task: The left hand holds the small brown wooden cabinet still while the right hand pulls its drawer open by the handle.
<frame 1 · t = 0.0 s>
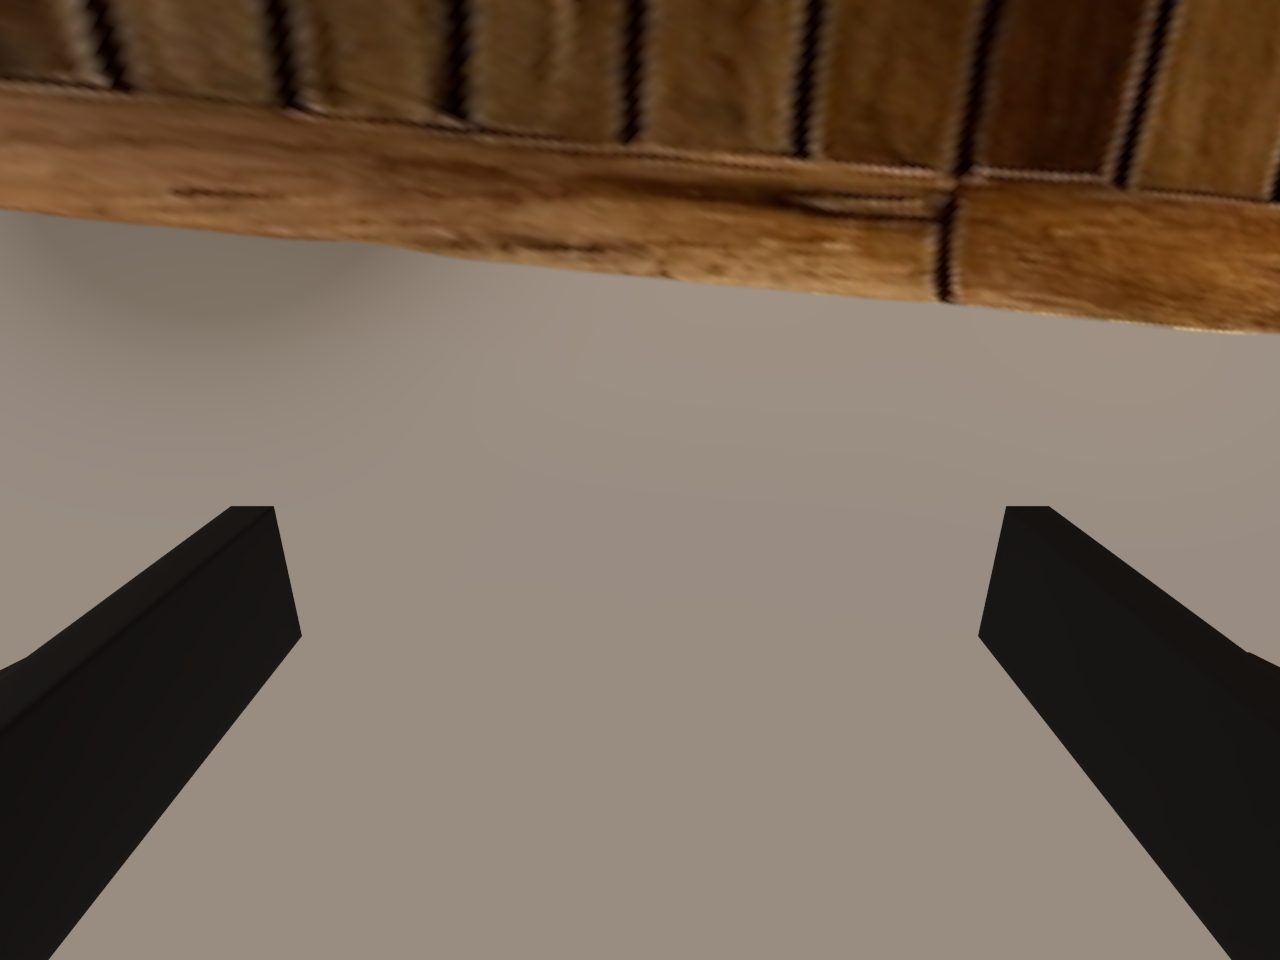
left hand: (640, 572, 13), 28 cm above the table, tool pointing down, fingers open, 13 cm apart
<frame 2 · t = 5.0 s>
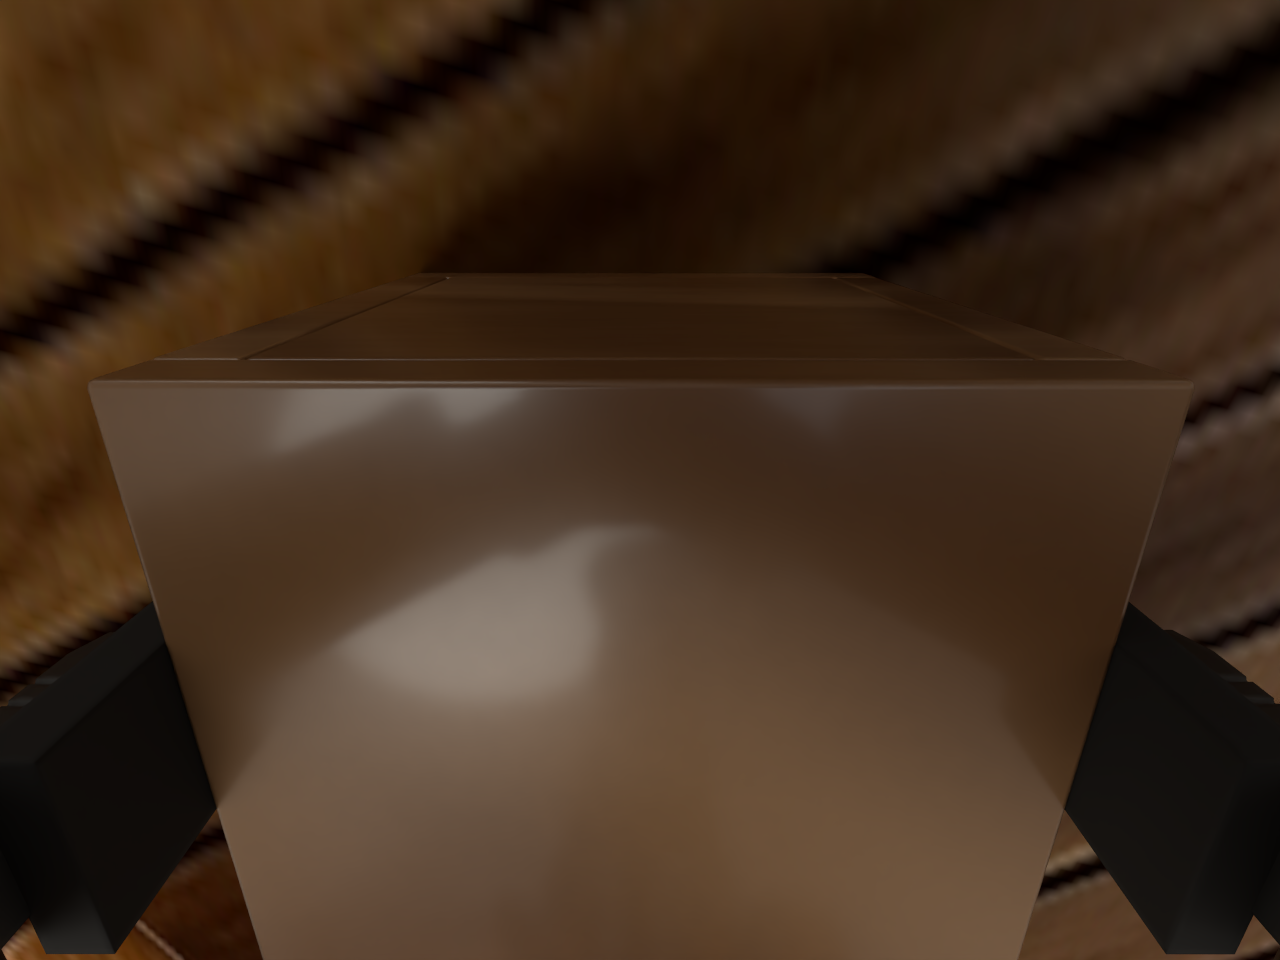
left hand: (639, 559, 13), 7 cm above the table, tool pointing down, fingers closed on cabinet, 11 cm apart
cabinet: (640, 627, 22), on the table, touching left hand
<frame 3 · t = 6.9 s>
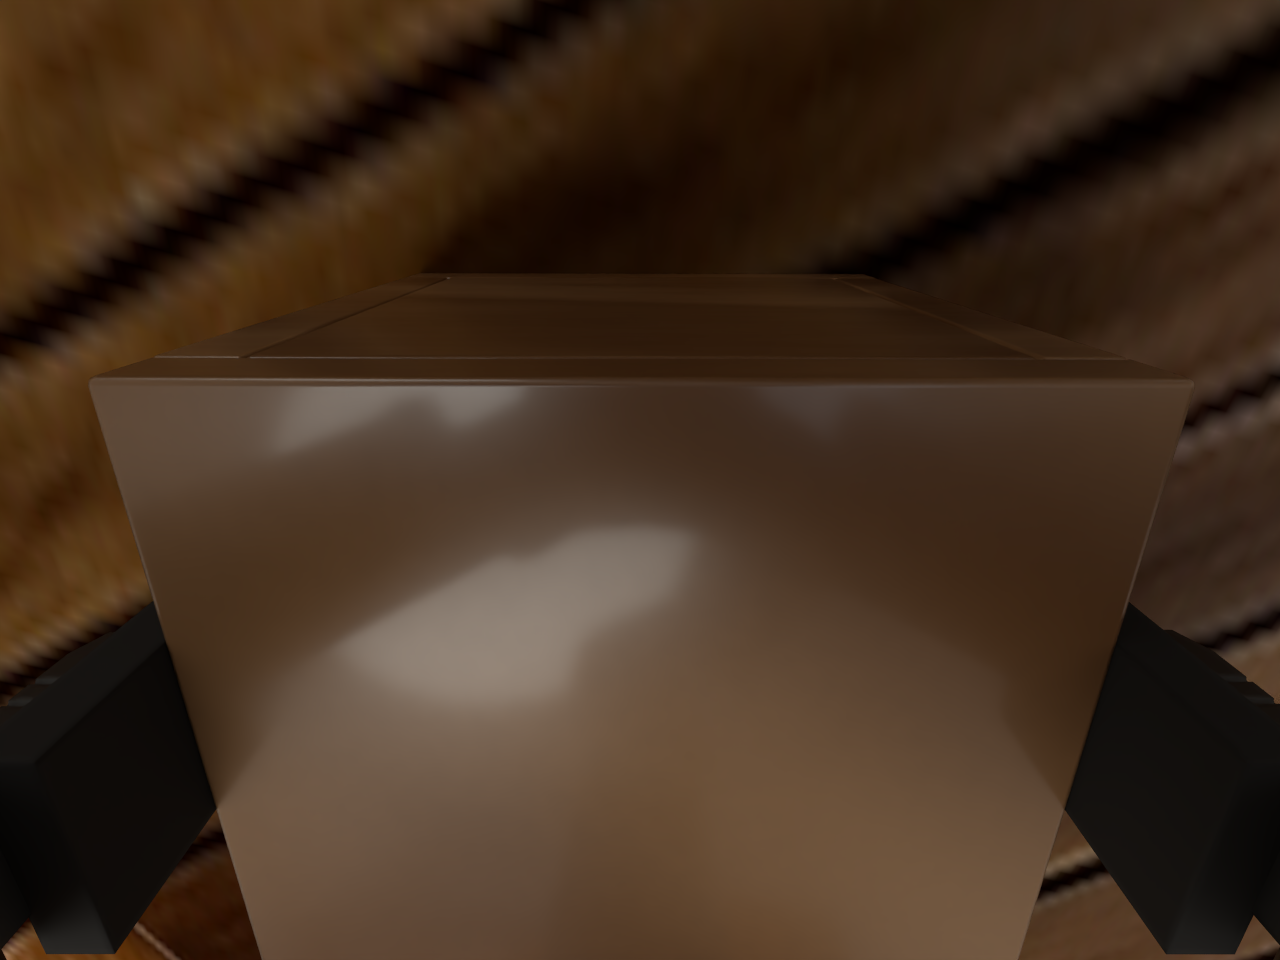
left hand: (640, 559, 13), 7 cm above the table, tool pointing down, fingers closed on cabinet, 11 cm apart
cabinet: (640, 628, 22), on the table, touching left hand
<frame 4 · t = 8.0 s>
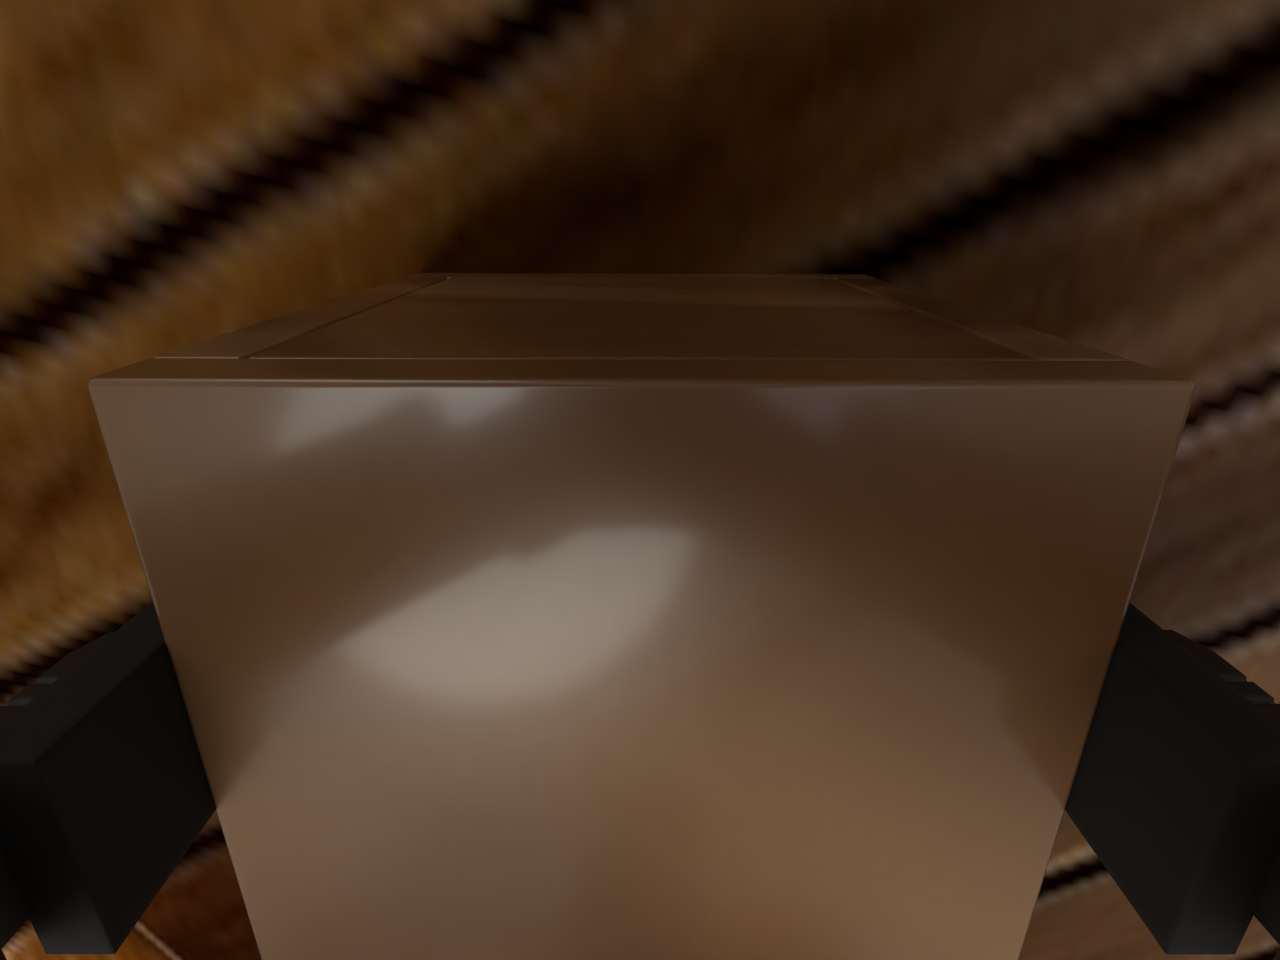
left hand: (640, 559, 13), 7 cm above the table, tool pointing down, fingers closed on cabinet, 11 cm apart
cabinet: (640, 628, 22), on the table, touching left hand
when the left hand's fingers open (7 cm above the table, at t = 9.8 s): cabinet stays where it is, on the table.
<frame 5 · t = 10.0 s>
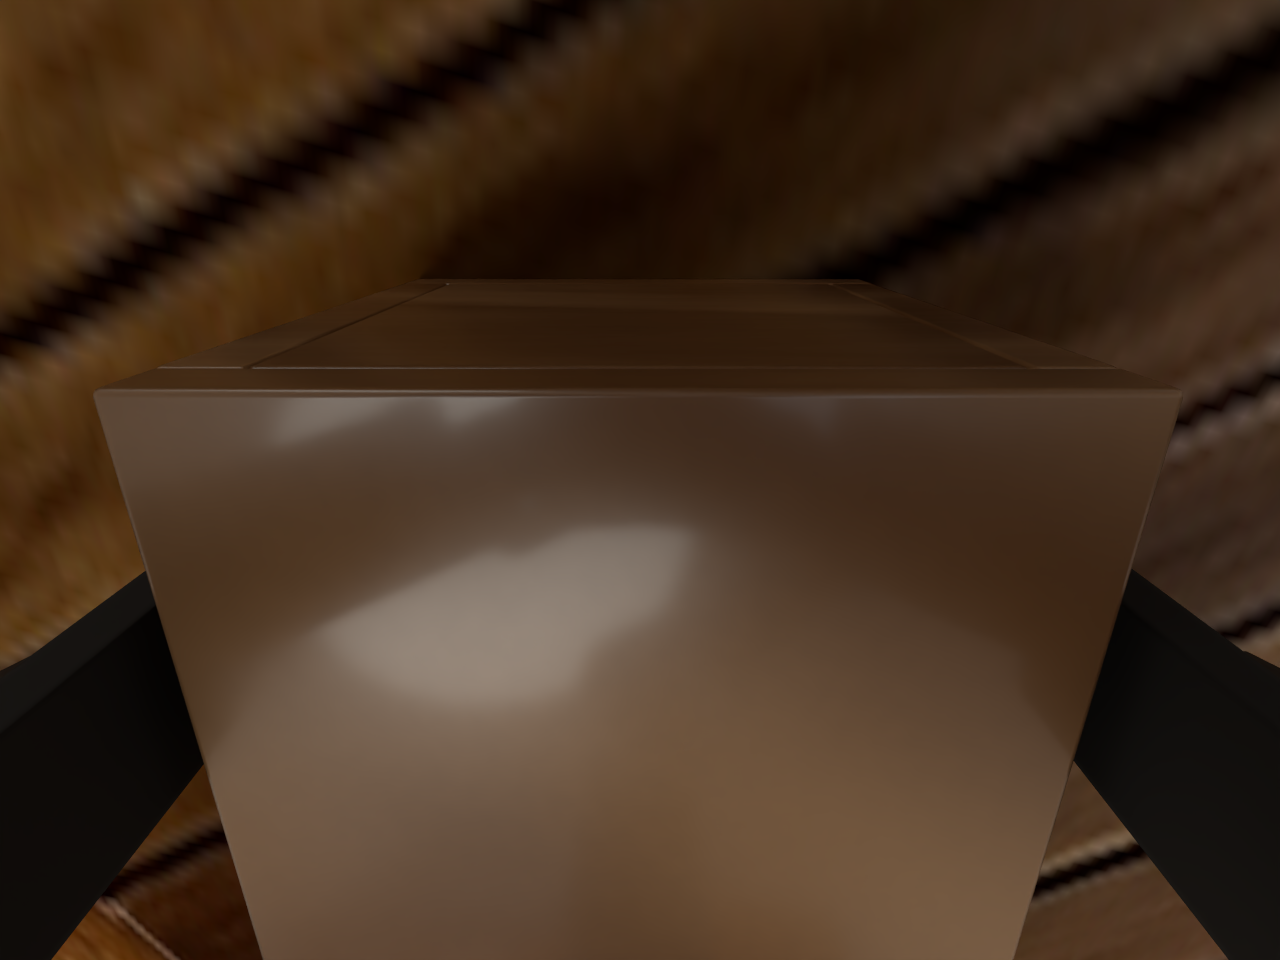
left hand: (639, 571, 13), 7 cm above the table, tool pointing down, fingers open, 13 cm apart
cabinet: (638, 631, 22), on the table
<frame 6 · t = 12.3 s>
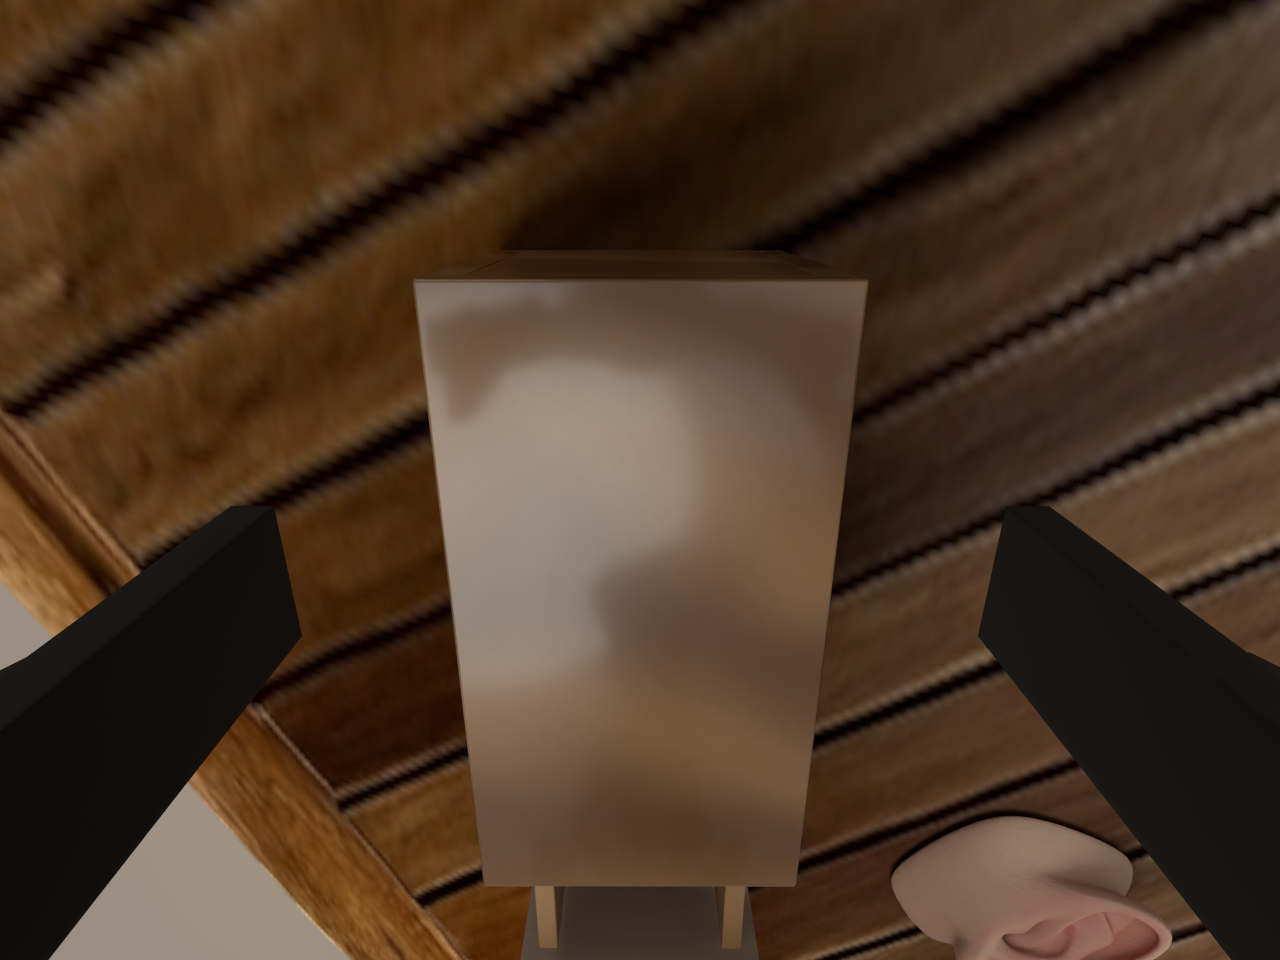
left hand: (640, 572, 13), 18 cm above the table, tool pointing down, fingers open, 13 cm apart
cabinet: (640, 494, 32), on the table
anatomical model: (1004, 882, 41), on the table
drawer: (639, 782, 31), point 6 cm above the table, slide at 7.0 cm
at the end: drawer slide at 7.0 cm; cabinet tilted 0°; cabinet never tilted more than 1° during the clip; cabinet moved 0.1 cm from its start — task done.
